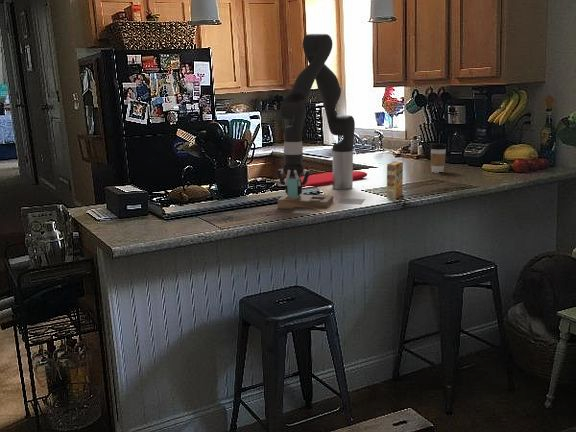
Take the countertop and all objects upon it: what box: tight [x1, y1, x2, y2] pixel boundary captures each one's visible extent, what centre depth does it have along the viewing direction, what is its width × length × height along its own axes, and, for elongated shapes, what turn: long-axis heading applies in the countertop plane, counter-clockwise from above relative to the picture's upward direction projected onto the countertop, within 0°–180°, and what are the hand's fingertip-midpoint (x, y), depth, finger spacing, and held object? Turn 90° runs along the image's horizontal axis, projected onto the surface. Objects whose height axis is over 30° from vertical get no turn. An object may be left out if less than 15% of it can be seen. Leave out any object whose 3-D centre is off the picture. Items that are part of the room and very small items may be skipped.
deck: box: [336, 197, 366, 205], centre depth 262 cm, size 10×10×1 cm
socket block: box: [277, 193, 334, 210], centre depth 258 cm, size 12×20×4 cm, turn 74°
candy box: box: [386, 160, 404, 199], centre depth 269 cm, size 9×4×15 cm, turn 150°
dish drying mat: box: [301, 169, 368, 188], centre depth 311 cm, size 16×41×4 cm, turn 127°
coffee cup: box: [430, 142, 448, 174], centre depth 331 cm, size 8×8×15 cm
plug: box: [287, 177, 300, 199], centre depth 258 cm, size 4×4×11 cm
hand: (293, 194), depth 258 cm, fingers closed on plug, 4 cm apart
